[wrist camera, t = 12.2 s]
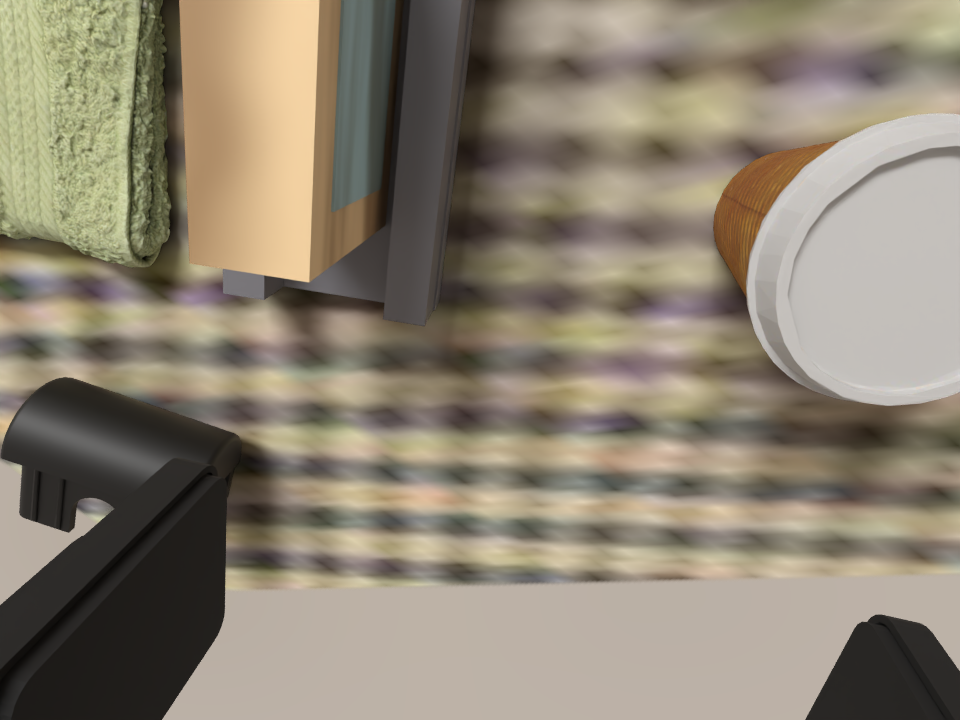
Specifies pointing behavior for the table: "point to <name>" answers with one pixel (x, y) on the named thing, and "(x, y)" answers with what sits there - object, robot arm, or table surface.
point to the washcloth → (84, 126)
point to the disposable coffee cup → (854, 260)
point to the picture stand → (405, 176)
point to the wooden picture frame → (287, 129)
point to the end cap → (101, 448)
